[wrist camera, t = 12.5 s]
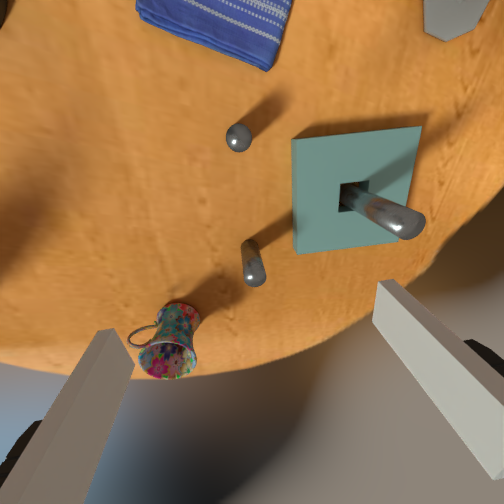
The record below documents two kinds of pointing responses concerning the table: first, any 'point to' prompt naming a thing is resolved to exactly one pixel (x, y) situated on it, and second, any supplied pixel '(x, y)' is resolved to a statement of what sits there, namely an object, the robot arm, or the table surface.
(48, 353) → the table surface
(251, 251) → the medium pin
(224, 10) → the dish towel
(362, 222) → the hole block
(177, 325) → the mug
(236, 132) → the short pin
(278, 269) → the table surface
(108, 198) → the table surface
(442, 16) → the wineglass
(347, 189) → the long pin
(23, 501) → the robot arm
